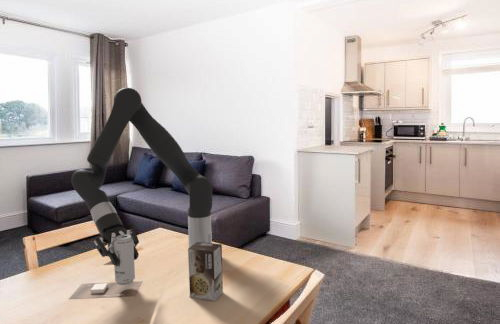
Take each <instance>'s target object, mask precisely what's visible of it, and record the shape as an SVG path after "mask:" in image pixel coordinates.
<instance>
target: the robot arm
mask: <svg viewBox="0 0 500 324" xmlns="http://www.w3.org/2000/svg"><path fill="white" fill-rule="evenodd" d="M129 122H130V123H131V124H132V126H134V128H135V129H136V130H137V132H139V133H138V134H140V136H141V137H142V138H143V140H144V142H145V144H147V147H149V148H150V150H151V151H152V152H153V153H154V155H155V156H156V157H157V158H158V159H159V160H160V161H161V162H162V164H163V165H165V166H166V167H167V168H168V170H170V171H171V172H172V173H173V174H174V175H175V176H176V177H177V178H178V180H179V181H180V182H179V183H181V185H182V186H183V188H184V189H185V191H186V192H187V194H188V195H189V207H188V209H187V227H188V228H187V229H188V248H190V247H191V246H192V245H193V244H195V243H196V242H204V243H213V241H212V239H213V238H212V237H213V236H212V234H213V233H212V209H213V184H212V182H211V181H210V180H209V178H207V177H206V176H203V175H202V174H201V173H199V171H197V169H195V168H194V166H192V164H191V163H190V162H189V160H188V159H187V157H186V154H185V153H184V151H183V149H182V147H181V146H180V145H179V143H178V142H177V140H176V139H175V138H174V137H173V135H172V134H171V133H170V132H169V131H168V130H167V129H166V128H165V127H164V126H163V125H162V124H161V123H160V122H158V121H157V119H155V118H154V117H153V116H152V115H151V114H150V112H149V111H148V110H147V108H146V107H145V105H144V104H143V103H142V97H141V95H140V93H139V92H138V91H137V90H136V89H134V88H132V87H123V88H120V89H119V90H118V91H116V92H115V95H114V97H113V104H112V108H111V111H110V114H109V116H108V119H107V120H106V123H105V125H104V126H103V128H102V130H101V131H100V133H99V134H98V136H97V138H96V139H95V141H94V143H93V145H92V147H91V149H90V151H89V153H88V155H87V158H86V160H87V162H88V163H89V164H91V169H90V170H87V169H83V168H82V169H77V170H76V171H74V172H73V173H72V175H71V181H70V182H71V185H72V188H73V189H74V191H75V192H76V193H77V195H79V197H80V198H81V199H82V200H83V201H84V202H85V204H86V206H87V209H88V210H89V213H90V214H91V218H92V221H93V223H94V225H95V227H96V228H97V231H98V233H99V235H100V237H95V239H94V241H93V245H94V246H95V248H96V249H97V252H98V253H99V254H100V255H101V257H102V258H105V257H108V258H109V259H110V261H111V262H112V264H113V266H114V265H115V266H118V265H119V264H120V261H119V259H118V257H117V255H116V254H115V253H114V245H113V243H114V241H115V237H117V236H119V235H131V238H132V239H133V241H134V261H135V260H138V259H139V252H138V250H137V248H136V247H137V246H138V244H139V243H140V241H139V238H138V235H137V232H136V229H135V228H134V227H132V228H131V229H126V228H125V227H124V225H123V222H122V220H121V218H120V216H119V215H118V212H117V210H116V208H115V207H114V205H113V204H112V202H111V200H110V198H109V197H108V195H107V193H106V192H105V191H104V190H103V189H101V187H102V186H103V184H104V182H105V178H106V175H107V174H106V173H107V168H108V164H109V162H110V161H111V158H112V156H113V154H114V152H115V150H116V148H117V146H118V143H119V141H120V138H121V136H122V134H123V132H124V130H125V129H126V127H127V125H128V124H129ZM104 243H105V244H107V248H106V245H104Z"/></svg>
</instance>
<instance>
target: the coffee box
mask: <svg viewBox="0 0 500 324" xmlns="http://www.w3.org/2000/svg"><path fill="white" fill-rule="evenodd" d="M222 253H223V247H222V244H221V243H213V242H212V243H204V242H196V243H195V244H193V245H192V246H191V247H190V248H189V247H188V248H187V257H188V279H189V280H188V281H189V283H188V284H189V297H190V298H194V299H200V300H207V301H213V302H216V301H217V300H218V299H219V298H220V296H221V295H222V294H223V293H224V290H223V289H224V288H223V287H224V286H223V254H222Z"/></svg>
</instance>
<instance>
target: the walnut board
mask: <svg viewBox="0 0 500 324" xmlns="http://www.w3.org/2000/svg"><path fill="white" fill-rule="evenodd" d="M104 283H105V282H95V283H94V282H93V283H91V282H90V283H89V282H88V283H81V284H80V285H79V286H78V288H76V290H74V292H73V293H72V294H71V296H70V297H68V300H83V299H85V300H86V299H103V298H105V299H106V298H125V297H136V295H137V294H138V291H139V290H140V287H141V286H142V283H143V280H141V281H138V280H137V281H133V282H132V283H130V284H128V285H118V284H117V282H116V281H114V282H112V281H111V282H107V283H108V287H107V289H106V290H105V292H104V293H91V289H92V287H93V286H94V285H95V284H104Z"/></svg>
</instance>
